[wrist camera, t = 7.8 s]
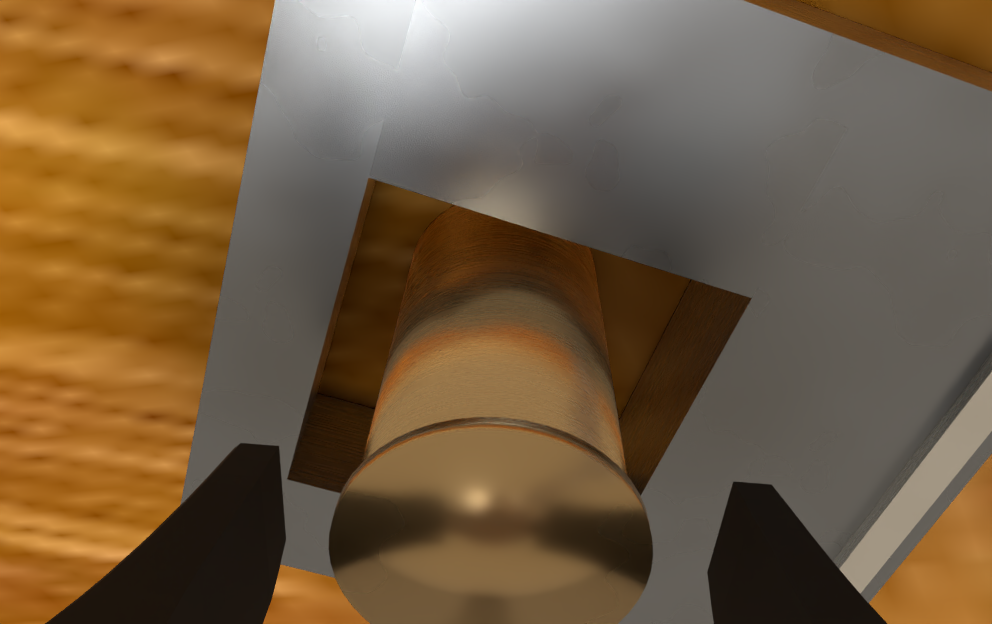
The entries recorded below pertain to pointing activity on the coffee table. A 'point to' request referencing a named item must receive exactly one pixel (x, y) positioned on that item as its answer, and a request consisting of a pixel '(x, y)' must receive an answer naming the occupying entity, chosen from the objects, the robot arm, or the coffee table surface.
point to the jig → (643, 248)
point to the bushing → (494, 445)
